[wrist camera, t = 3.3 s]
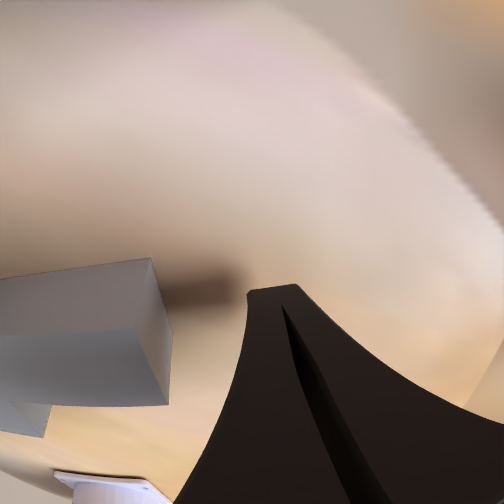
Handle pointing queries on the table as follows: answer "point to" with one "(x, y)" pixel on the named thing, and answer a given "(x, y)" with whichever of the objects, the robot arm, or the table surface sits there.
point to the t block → (81, 342)
